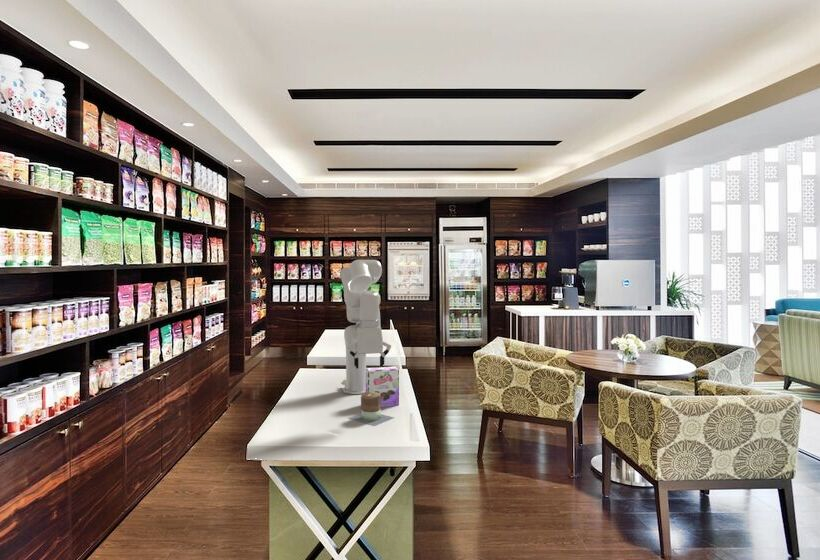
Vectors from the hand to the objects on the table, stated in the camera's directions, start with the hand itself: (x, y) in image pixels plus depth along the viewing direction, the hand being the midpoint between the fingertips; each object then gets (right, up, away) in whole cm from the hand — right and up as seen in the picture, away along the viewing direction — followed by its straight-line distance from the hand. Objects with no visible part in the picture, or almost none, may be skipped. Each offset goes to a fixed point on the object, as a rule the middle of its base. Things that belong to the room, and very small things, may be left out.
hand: (369, 367), depth 183 cm
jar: (+1, -20, 0) cm, 20 cm away
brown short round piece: (+1, -17, 0) cm, 16 cm away
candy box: (+4, -20, +17) cm, 27 cm away
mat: (+1, -21, 0) cm, 21 cm away
